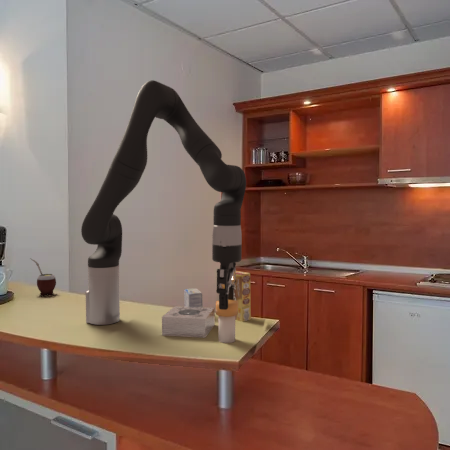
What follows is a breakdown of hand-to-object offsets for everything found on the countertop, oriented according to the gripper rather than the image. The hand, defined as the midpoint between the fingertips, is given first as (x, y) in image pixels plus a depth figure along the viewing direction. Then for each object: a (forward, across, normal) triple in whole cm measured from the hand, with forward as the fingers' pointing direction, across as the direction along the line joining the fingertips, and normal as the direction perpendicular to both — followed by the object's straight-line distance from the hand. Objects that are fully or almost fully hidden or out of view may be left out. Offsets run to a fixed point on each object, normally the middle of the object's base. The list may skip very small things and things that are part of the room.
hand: (226, 305), depth 112 cm
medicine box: (+11, -23, -15) cm, 29 cm away
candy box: (+10, -22, -1) cm, 24 cm away
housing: (+10, -7, -12) cm, 17 cm away
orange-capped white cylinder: (+10, 0, 0) cm, 10 cm away
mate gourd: (+11, -44, -80) cm, 92 cm away
